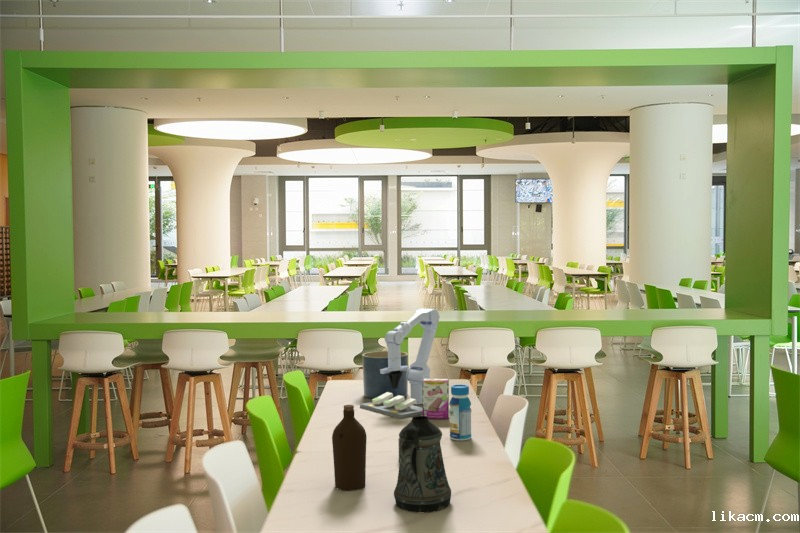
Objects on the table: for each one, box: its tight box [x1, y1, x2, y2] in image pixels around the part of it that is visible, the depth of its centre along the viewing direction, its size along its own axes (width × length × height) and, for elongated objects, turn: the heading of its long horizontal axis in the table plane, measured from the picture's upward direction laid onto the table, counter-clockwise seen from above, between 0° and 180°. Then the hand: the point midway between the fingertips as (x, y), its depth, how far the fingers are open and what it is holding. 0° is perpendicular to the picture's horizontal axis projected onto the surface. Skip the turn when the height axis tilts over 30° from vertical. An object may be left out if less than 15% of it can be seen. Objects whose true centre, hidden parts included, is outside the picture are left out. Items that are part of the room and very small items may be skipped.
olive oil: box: [331, 404, 368, 491], centre depth 241 cm, size 11×11×25 cm
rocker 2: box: [383, 395, 405, 407], centre depth 348 cm, size 9×4×2 cm, turn 128°
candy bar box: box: [422, 378, 450, 420], centre depth 331 cm, size 11×5×16 cm, turn 84°
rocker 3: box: [395, 397, 417, 410], centre depth 341 cm, size 9×4×2 cm, turn 128°
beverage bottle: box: [449, 384, 472, 442], centre depth 297 cm, size 8×8×20 cm
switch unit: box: [359, 399, 423, 420], centre depth 348 cm, size 16×30×3 cm, turn 38°
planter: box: [361, 350, 409, 400], centre depth 381 cm, size 22×22×20 cm
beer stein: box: [393, 415, 452, 513], centre depth 223 cm, size 16×19×25 cm
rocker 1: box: [371, 392, 393, 405], centre depth 354 cm, size 9×4×2 cm, turn 128°
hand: (395, 388), depth 350 cm, fingers closed
